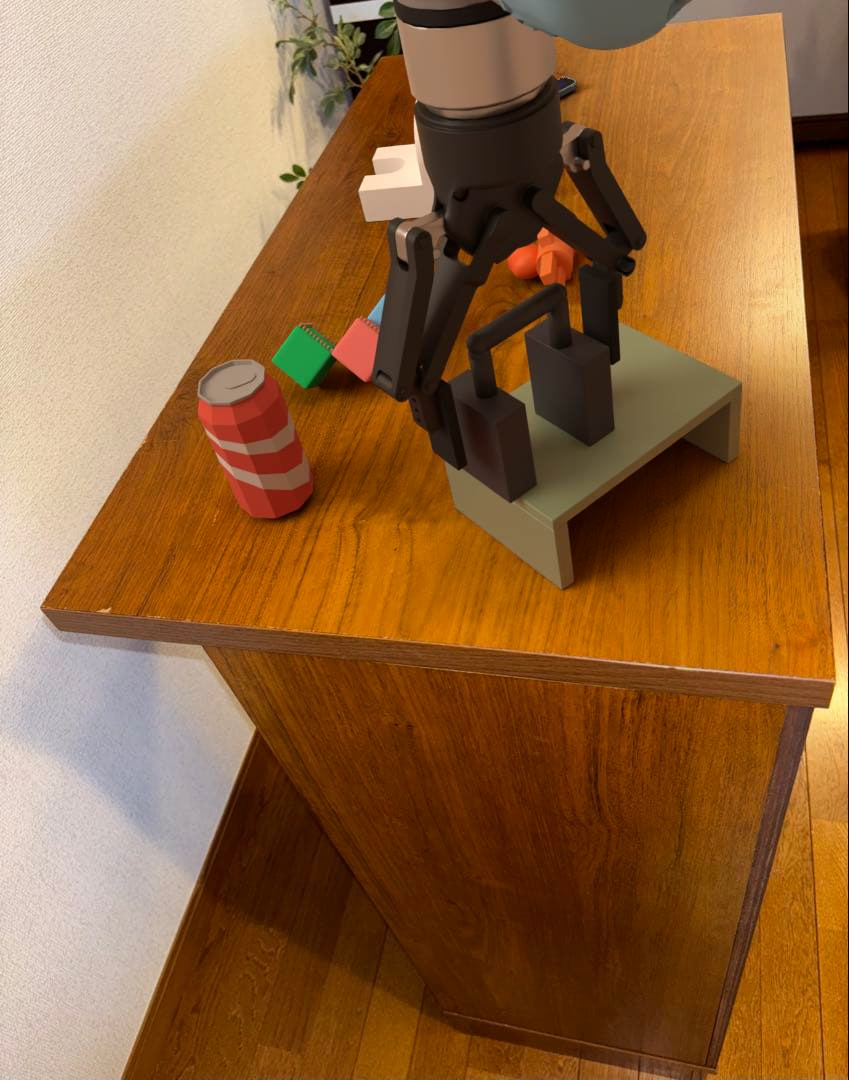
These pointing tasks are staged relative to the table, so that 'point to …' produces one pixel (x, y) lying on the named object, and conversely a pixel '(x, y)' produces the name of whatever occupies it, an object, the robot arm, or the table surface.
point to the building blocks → (330, 350)
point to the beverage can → (254, 438)
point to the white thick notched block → (397, 184)
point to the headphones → (557, 386)
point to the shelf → (605, 449)
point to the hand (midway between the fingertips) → (528, 405)
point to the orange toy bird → (543, 260)
